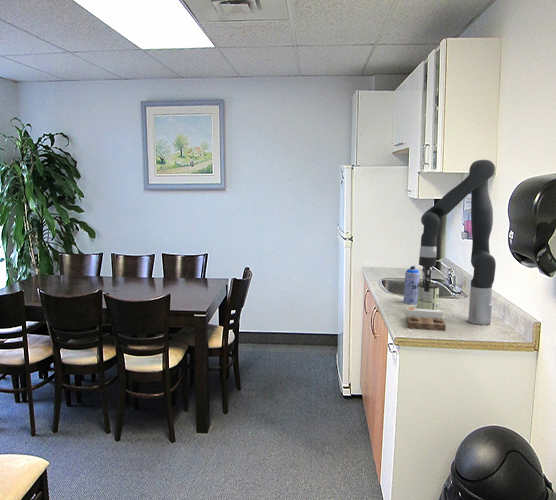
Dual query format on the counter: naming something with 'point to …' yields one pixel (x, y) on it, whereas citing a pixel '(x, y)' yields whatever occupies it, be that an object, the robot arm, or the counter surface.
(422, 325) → the mounting board
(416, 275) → the aerosol can
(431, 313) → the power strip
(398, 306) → the counter surface
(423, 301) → the coffee can
